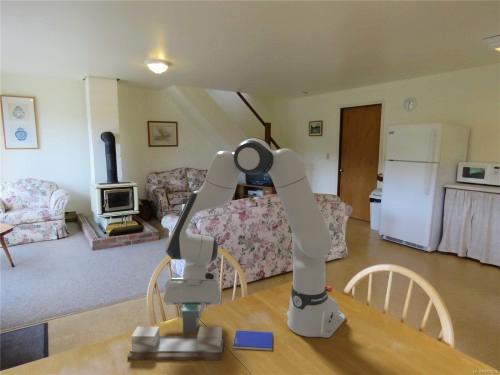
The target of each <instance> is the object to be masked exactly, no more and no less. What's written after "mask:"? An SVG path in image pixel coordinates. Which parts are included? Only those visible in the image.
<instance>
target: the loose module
mask: <svg viewBox="0 0 500 375" xmlns="http://www.w3.org/2000/svg"><path fill="white" fill-rule="evenodd" d="M182 311H183V318H182V332H183V333H198V332H197V331H198V329H199V328H198V327H199V325H200V322H199V321H200V318H197V311H199V305H198V303H185V305H183V307H182Z"/></svg>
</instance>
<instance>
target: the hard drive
mask: <svg viewBox="0 0 500 375" xmlns="http://www.w3.org/2000/svg"><path fill="white" fill-rule="evenodd" d="M232 343H233V344H232V349H243V350H259V351H260V350H262V351H273V332H272V331H259V330H258V331H256V330H255V331H254V330H239V329H237V330H235V334H234V338H233V342H232Z"/></svg>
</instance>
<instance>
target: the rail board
mask: <svg viewBox="0 0 500 375" xmlns="http://www.w3.org/2000/svg"><path fill="white" fill-rule="evenodd" d="M222 332H223V328H222V326H199V328H198V332H197V335H160V334H161V333H160V326H136V329H135V330H134V331H133V333H132V334H131V336H130V337H131V348H130V350H129V352H128V355H127V360H129V361H131V360H140V361H141V360H145V361H146V360H151V361H155V360H156V361H157V360H159V361H163V360H166V361H167V360H168V361H175V360H176V361H221V360H222V358H223V357H222V356H223V350H224V343H225V336H224V335H223V333H222Z"/></svg>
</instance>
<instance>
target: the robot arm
mask: <svg viewBox="0 0 500 375" xmlns="http://www.w3.org/2000/svg"><path fill="white" fill-rule="evenodd" d="M305 171H306V170H305V169H304V167H303V165H302V163H301V161H300V159H299V157H298V156H297V154H296V153H295V151H294V150H293V149H290V148H278V149H277V150H273V149H272V146H271V145H270V144H269V142H267V141H266V140H265V139H262V138H260V137H259V138H258V137H254V138H253V137H252V138H248V139H245V140H244V141H242V142H240V143H239V144H238V145H237V146H236V148H235V150H234V151H229V150H221V151H217V152H216V153H214V155H213V158H212V160H211V162H210V163H209V167H208V169H207V172H206V176H205V179H204V182H203V183H202V185H201V187H199V188H198V189H197V190H193V191H192V192H191V194H190V195H189V196H188V198H187V200H186V201H185V204H184V206H183V208H182V210H181V212H180V214H179V217H178V219H177V221H176V224H175V225H174V227H173V230H172V231H171V233H170V235H169V237H168V238H167V240H166V243H165V253H166V254H167V256H168V257H170V259H172V260H177V261H178V260H180V261H181V260H184V261H185V265H184V267H183V275H182V277H177V278H174V277H171V278H169V279H168V280H166V283H165V285H164V286H165V287H164V288H165V291H164V295H163V302H164V303H165V304H166V305H169V306H172V305H177V308H178V311H179V318H180V319H181V318H182V319H183V308H184V306H185V303H198V306H199V305H200V307H201V308H200V309H199V310H198V311H197V318H199V319H200V318H202V316H203V313H204V311H205V309H206V306H210V305H211V306H219V305H220V304H221V302H222V294H221V292H222V291H221V287H220V284H219V281H220V280H219V277H218V275H217V273H216V274H215V273H212V272H209V271H208V264H209V265H210V264H211V263H213V262H214V261H215V260H216V259H217V258H218V251H219V243H218V241H217V240H216V238H215V237H213V236H210V235H203V234H197V233H191V232H188V231H187V230H188V228H189V226H190V224H191V222H192V220H193V218H194V216H195V215H196V214H197V213H200V212H203V211H206V210H213V209H219V208H222V207H225V206H226V205H228V204H229V203H230V202H231V201H232V199H233V197H234V195H235V193H236V190H237V186H238V183H239V179H240V177H241V175H242V174H246V175H262V174H264V175H265V174H268V175H269V177H270V179H271V181H272V183H273V185H274V188H275V191H276V193H277V196H278V198H279V202H280V205H281V207H282V209H283V213H284V215H285V216H286V219H287V222H288V224H289V227H290V229H291V237H292V238H291V239H292V241H291V244H292V246H291V247H292V264H293V265H292V285H291V289H290V298H289V305H288V306H289V308H288V310H287V311H286V317H287V322H286V325H287V327H288V328H289V329H290V331H292V332H293V333H295V334H297V335H299V336H304V337H311V338H317V337H319V338H320V337H321V338H326V339H327V338H331V337H332V336H333V334H334V333H335V332H336V331H337V330H338V329H339V327H341V325H342V324H343V322H344V321H345V320H346V316H345V314H344V313H343V312H341V311H340V307H339V306H340V305H339V303H338V302H337V300H335V298H332V297H331V296H330V295H329V294H328V293H332V292H333V287H332V286H330V285H328V284H327V285H326V272H327V271H326V270H327V267H326V266H327V265H326V260H325V256H327V255H328V254H329V253H330V251H331V249H332V243H333V242H332V235H331V232H330V230H329V227H328V224H327V223H326V221H325V218H324V215H323V213H322V210H321V209H320V207H319V205H318V202H317V199H316V198H315V195H314V193H313V190H312V188H311V184H310V182H309V180H308V176H307V174H306V172H305Z"/></svg>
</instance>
